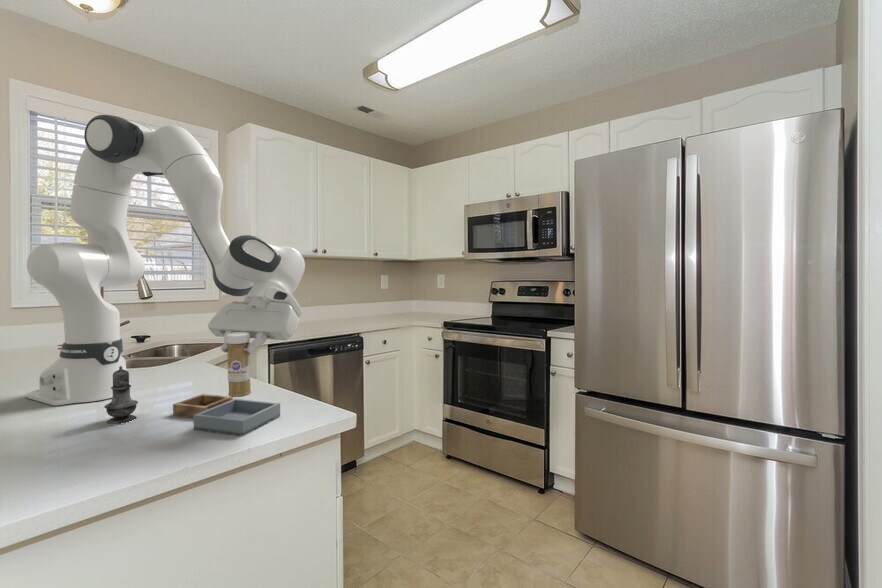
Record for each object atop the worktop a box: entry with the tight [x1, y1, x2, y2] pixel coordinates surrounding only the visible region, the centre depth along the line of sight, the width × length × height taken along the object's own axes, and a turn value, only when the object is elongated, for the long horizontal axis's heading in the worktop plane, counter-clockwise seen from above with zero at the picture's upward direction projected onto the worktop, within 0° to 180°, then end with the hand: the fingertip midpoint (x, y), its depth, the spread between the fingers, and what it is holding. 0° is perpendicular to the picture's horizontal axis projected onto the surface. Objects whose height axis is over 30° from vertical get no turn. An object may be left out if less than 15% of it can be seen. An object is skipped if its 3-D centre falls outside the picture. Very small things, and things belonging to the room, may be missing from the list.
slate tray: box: [193, 398, 281, 436], centre depth 92 cm, size 12×12×3 cm
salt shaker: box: [103, 366, 139, 425], centre depth 92 cm, size 6×6×12 cm
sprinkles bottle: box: [226, 332, 252, 398], centre depth 91 cm, size 5×5×13 cm
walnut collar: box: [172, 393, 234, 419], centre depth 99 cm, size 9×9×2 cm
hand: (236, 351), depth 90 cm, fingers closed on sprinkles bottle, 4 cm apart
